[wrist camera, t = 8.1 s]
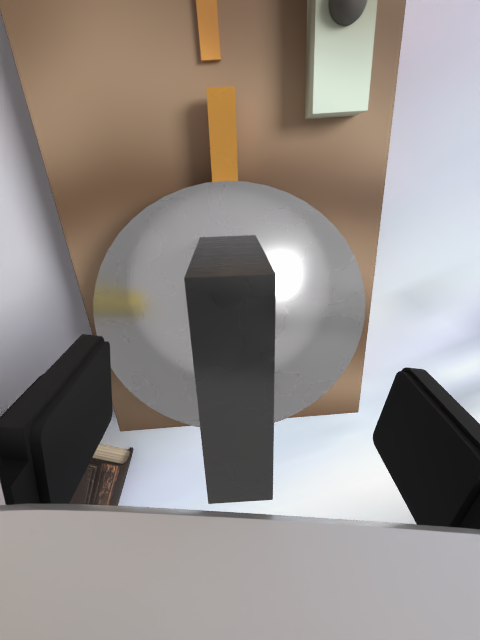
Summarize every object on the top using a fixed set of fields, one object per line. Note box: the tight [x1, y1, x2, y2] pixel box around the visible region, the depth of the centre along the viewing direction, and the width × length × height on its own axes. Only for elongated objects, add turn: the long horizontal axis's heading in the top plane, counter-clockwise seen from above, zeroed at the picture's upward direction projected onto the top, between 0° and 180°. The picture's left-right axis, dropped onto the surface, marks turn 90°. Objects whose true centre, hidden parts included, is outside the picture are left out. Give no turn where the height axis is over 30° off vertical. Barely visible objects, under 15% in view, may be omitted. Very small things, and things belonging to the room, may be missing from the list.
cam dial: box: [93, 86, 365, 504], centre depth 12 cm, size 15×12×7 cm
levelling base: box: [0, 0, 406, 431], centre depth 14 cm, size 24×14×4 cm, turn 4°
